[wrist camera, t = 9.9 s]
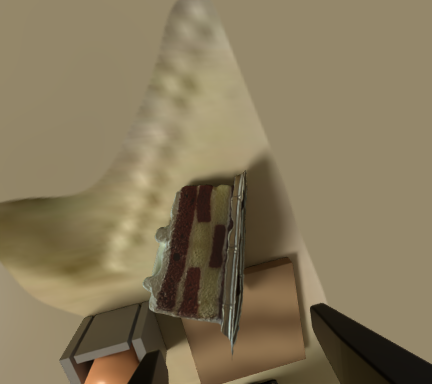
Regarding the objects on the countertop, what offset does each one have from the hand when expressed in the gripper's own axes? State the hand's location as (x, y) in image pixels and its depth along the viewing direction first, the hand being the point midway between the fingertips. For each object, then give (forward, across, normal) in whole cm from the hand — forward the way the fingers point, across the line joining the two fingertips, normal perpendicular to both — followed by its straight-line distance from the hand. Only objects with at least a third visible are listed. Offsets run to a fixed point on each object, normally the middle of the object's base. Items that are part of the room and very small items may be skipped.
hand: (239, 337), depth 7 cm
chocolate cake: (+15, -1, -1) cm, 15 cm away
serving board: (+13, -1, +12) cm, 17 cm away
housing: (+13, +10, +10) cm, 19 cm away
